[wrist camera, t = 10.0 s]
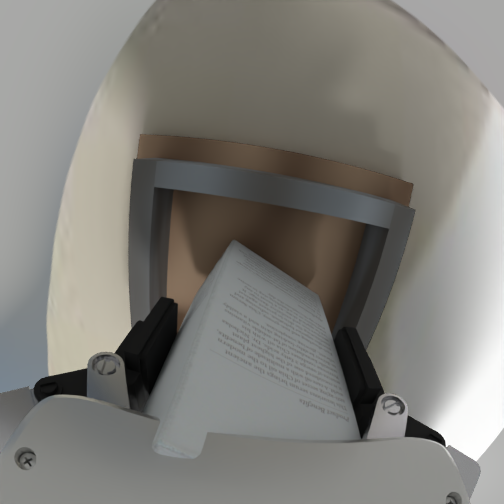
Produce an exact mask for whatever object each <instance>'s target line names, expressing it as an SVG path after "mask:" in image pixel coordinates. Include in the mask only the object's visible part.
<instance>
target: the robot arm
mask: <svg viewBox="0 0 504 504" xmlns="http://www.w3.org/2000/svg"><path fill="white" fill-rule="evenodd" d="M177 317H178V303H174V299H171V298H166V297H161V298H160V299H159V300H158V302H157V303H156V305H155V306H154V307H153V309H152V310H151V312H150V313H149V314H148V316H147V317H146V319H145V320H144V321H141V320H139V321H137V322H136V324H135V325H134V327H133V328H132V329H131V331H130V332H129V334H128V335H127V336H126V338H125V339H124V341H123V342H122V343H121V345H120V346H119V348H118V349H117V350H116V352H115V353H112V352H100V353H97V354H95V355H94V356H92V357H91V358H90V359H89V361H88V367H87V368H86V369H82V370H77V371H73V372H68V373H63V374H58V375H53V376H48V377H45V378H42V379H40V380H39V381H38V382H37V383H36V384H35V387H34V388H33V389H30V388H29V386H28V387H24V388H20V389H16V390H12V391H7V392H3V393H0V504H470V501H469V500H470V497H471V495H472V493H473V491H474V488H475V486H476V484H477V481H478V478H479V476H480V472H481V471H480V466H479V464H478V463H477V462H476V461H474V460H473V459H471V458H469V457H468V456H466V455H464V454H463V453H461V452H459V451H458V450H456V449H455V448H453V447H451V446H450V445H449V446H448V447H446V445H445V440H444V438H443V437H442V435H441V434H439V433H438V432H436V431H435V430H433V429H431V428H429V427H427V426H426V425H424V424H422V423H420V422H419V421H417V420H415V419H413V418H412V417H410V416H408V405H407V403H406V401H405V400H404V399H403V398H401V397H400V396H398V395H396V394H392V393H384V391H383V388H382V386H381V383H380V381H379V378H378V376H377V374H376V371H375V369H374V367H373V364H372V362H371V360H370V358H369V356H368V354H367V352H366V350H365V347H364V345H363V343H362V341H361V338H360V336H359V334H358V332H357V329H356V328H352V327H343V328H342V329H339V330H338V332H337V334H336V337H335V339H334V344H335V347H336V351H337V354H338V357H339V361H340V364H341V367H342V370H343V374H344V378H345V381H346V384H347V388H348V392H349V395H350V399H351V403H352V406H353V410H354V414H355V417H356V421H357V425H358V429H359V433H360V437H361V439H354V440H300V439H283V438H270V437H260V436H251V435H237V434H224V433H213V432H207V435H206V439H205V442H204V446H203V448H202V451H201V454H200V455H199V456H197V457H196V458H194V459H189V458H177V457H171V456H166V455H161V454H158V453H156V452H154V450H153V448H152V442H153V440H154V437H155V434H156V432H157V429H158V426H159V424H160V419H159V418H158V417H156V416H152V415H148V414H145V413H142V412H143V410H144V408H145V405H146V403H147V401H148V398H149V396H150V394H151V391H152V389H153V387H154V385H155V382H156V380H157V378H158V375H159V373H160V371H161V369H162V367H163V364H164V362H165V360H166V358H167V355H168V353H169V351H170V349H171V347H172V344H173V342H174V340H175V338H176V336H177Z"/></svg>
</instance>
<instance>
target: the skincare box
mask: <svg viewBox="0 0 504 504" xmlns="http://www.w3.org/2000/svg"><path fill="white" fill-rule="evenodd" d="M142 413H145V414H148V415H152V416H156V417H158V418H159V419H160V424H159V426H158V429H157V432H156V434H155V437H154V440H153V442H152V448H153V450H154V452H156V453H158V454H161V455H166V456H171V457H177V458H189V459H194V458H196V457H197V456H199V455H200V454H201V451H202V448H203V446H204V442H205V439H206V435H207V432H213V433H224V434H237V435H251V436H260V437H270V438H283V439H300V440H354V439H361V437H360V433H359V429H358V425H357V421H356V417H355V414H354V410H353V406H352V403H351V399H350V395H349V392H348V388H347V384H346V381H345V378H344V374H343V370H342V367H341V364H340V361H339V357H338V354H337V351H336V347H335V344H334V341H333V338H332V335H331V332H330V328H329V325H328V322H327V319H326V316H325V313H324V310H323V307H322V304H321V301H320V298H319V295H318V294H316V293H314V292H313V291H311V290H310V289H308V288H307V287H305V286H304V285H302V284H301V283H299V282H298V281H296V280H295V279H293V278H292V277H290V276H289V275H287V274H286V273H284V272H283V271H281V270H280V269H278V268H277V267H275V266H274V265H272V264H271V263H269V262H268V261H266V260H265V259H263V258H262V257H260V256H258V255H257V254H255V253H254V252H253V251H251V250H250V249H248V248H247V247H245V246H244V245H242V244H241V243H239V242H238V241H236V240H233V241H232V242H231V243H230V245H229V246H228V248H227V249H226V251H225V252H224V253H223V255H222V256H221V258H220V259H219V260H218V262H217V263H216V265H215V266H214V268H213V269H212V271H211V272H210V274H209V275H208V277H207V278H206V280H205V281H204V283H203V284H202V286H201V287H200V289H199V290H198V292H197V293H196V295H195V297H194V299H193V302H192V304H191V306H190V308H189V310H188V312H187V314H186V316H185V318H184V320H183V322H182V325H181V327H180V329H179V331H178V333H177V336H176V338H175V340H174V342H173V344H172V347H171V349H170V351H169V353H168V355H167V358H166V360H165V362H164V364H163V367H162V369H161V371H160V373H159V375H158V378H157V380H156V382H155V385H154V387H153V389H152V391H151V394H150V396H149V398H148V401H147V403H146V405H145V408H144V410H143V412H142Z"/></svg>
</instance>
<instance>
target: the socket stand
mask: <svg viewBox="0 0 504 504" xmlns="http://www.w3.org/2000/svg"><path fill="white" fill-rule="evenodd" d="M412 189H413V184H412V183H409V182H406V181H403V180H400V179H396V178H393V177H390V176H387V175H383V174H380V173H377V172H373V171H370V170H366V169H362V168H359V167H355V166H351V165H347V164H343V163H339V162H335V161H331V160H327V159H322V158H318V157H313V156H309V155H304V154H299V153H294V152H289V151H284V150H278V149H273V148H267V147H261V146H255V145H248V144H241V143H234V142H227V141H219V140H210V139H201V138H190V137H179V136H164V135H146V134H140V139H139V147H138V155H137V159H134V161H133V171H132V182H131V196H130V213H129V295H130V312H131V326H132V328H133V327H134V325H135V324H136V322H137V321H139V320H141V321H144V320H145V319H146V317H147V316H148V314H149V313H150V312H151V310H152V309H153V307H154V306H155V305H156V303H157V302H158V300H159V299H160V298H161V297H166V298H171V299H174V303H178V317H177V333H178V331H179V329H180V327H181V325H182V322H183V320H184V318H185V316H186V314H187V312H188V310H189V308H190V306H191V304H192V302H193V299H194V297H195V295H196V293H197V292H198V290H199V289H200V287H201V286H202V284H203V283H204V281H205V280H206V278H207V277H208V275H209V274H210V272H211V271H212V269H213V268H214V266H215V265H216V263H217V262H218V260H219V259H220V258H221V256H222V255H223V253H224V252H225V251H226V249H227V248H228V246H229V245H230V243H231V242H232V241H233V240H236V241H238V242H239V243H241V244H242V245H244V246H245V247H247V248H248V249H250V250H251V251H253V252H254V253H255V254H257V255H258V256H260V257H262V258H263V259H265V260H266V261H268V262H269V263H271V264H272V265H274V266H275V267H277V268H278V269H280V270H281V271H283V272H284V273H286V274H287V275H289V276H290V277H292V278H293V279H295V280H296V281H298V282H299V283H301V284H302V285H304V286H305V287H307V288H308V289H310V290H311V291H313V292H314V293H316V294H318V295H319V298H320V301H321V304H322V307H323V310H324V313H325V316H326V319H327V322H328V325H329V328H330V332H331V335H332V338H333V341H334V339H335V337H336V334H337V332H338V330H339V329H342V328H343V327H352V328H356V329H357V332H358V334H359V336H360V338H361V341H362V343H363V345H364V347H365V350H366V349H367V347H368V344H369V342H370V340H371V338H372V336H373V333H374V331H375V329H376V326H377V324H378V322H379V319H380V317H381V314H382V312H383V309H384V307H385V304H386V302H387V299H388V297H389V294H390V291H391V289H392V286H393V283H394V280H395V277H396V274H397V272H398V269H399V266H400V262H401V259H402V256H403V253H404V250H405V246H406V243H407V240H408V236H409V233H410V229H411V225H412V222H413V218H414V214H415V210H414V209H412V208H410V207H408V206H409V202H410V198H411V193H412Z"/></svg>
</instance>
